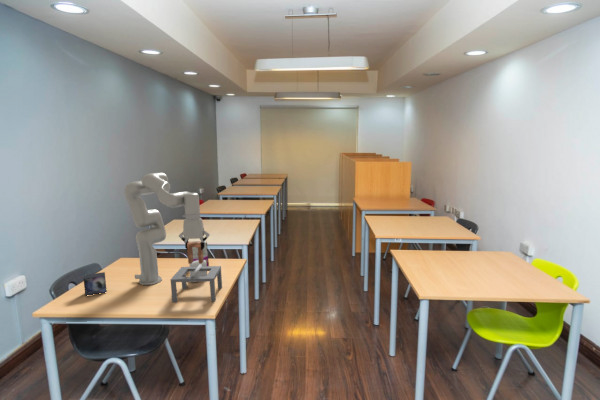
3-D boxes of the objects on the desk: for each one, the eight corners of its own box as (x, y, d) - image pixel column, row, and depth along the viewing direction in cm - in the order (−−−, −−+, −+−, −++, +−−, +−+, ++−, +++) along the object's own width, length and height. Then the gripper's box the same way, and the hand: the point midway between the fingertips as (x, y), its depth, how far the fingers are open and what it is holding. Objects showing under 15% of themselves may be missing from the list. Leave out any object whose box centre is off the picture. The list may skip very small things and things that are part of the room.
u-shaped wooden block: (188, 263, 202) (187, 243, 200) (190, 261, 206) (189, 241, 204) (201, 263, 202) (200, 243, 200) (203, 261, 206) (202, 241, 204)
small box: (85, 297, 207) (82, 278, 205) (85, 293, 213) (83, 275, 211) (106, 293, 212) (104, 275, 210) (106, 289, 217) (104, 271, 216)
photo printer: (206, 277, 232) (204, 257, 230) (208, 279, 229) (207, 259, 227) (189, 281, 227) (187, 261, 225) (191, 283, 223) (190, 263, 221)
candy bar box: (207, 264, 257) (206, 240, 254) (209, 266, 252) (207, 242, 250) (190, 266, 253) (188, 242, 250) (191, 268, 248) (189, 244, 245)
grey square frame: (172, 302, 198) (170, 275, 195) (183, 288, 217) (181, 263, 214) (214, 301, 198) (213, 274, 195) (222, 287, 217) (220, 262, 214)
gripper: (173, 218, 196) (176, 251, 199) (207, 217, 196) (209, 251, 199) (178, 215, 204) (181, 247, 207) (211, 214, 204) (213, 247, 207)
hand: (195, 249), depth 203 cm, fingers closed on u-shaped wooden block, 7 cm apart
